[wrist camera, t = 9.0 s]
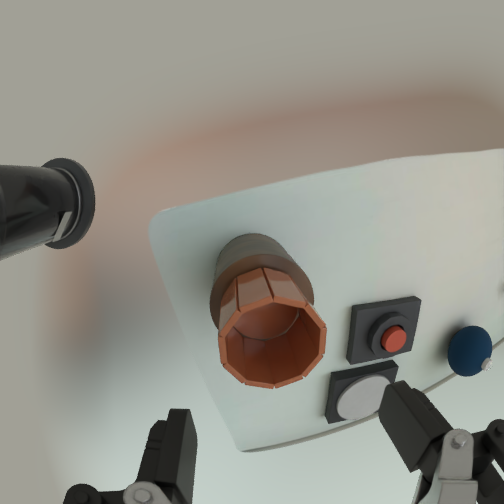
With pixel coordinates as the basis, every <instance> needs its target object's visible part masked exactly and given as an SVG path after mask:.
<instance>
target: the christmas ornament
mask: <svg viewBox="0 0 504 504" xmlns="http://www.w3.org/2000/svg"><path fill="white" fill-rule="evenodd" d="M491 353H492V341H491V338H490V336H489V334H488V333H487V332H486V331H485V330H484V329H483V328H481V327H479V326H468V327H465V328H463V329H461V330H460V331H458V332H457V333H456V334H455V336H454V337H453V338H452V340H451V342H450V344H449V348H448V362H449V365H450V367H451V369H452V370H453V371H454V372H455V373H456V374H458V375H460V376H473V375H475V374H477V373H479V372H480V371H482V370H484V371H487V370H488V369H489V368H490V366H491V365H492V360H491V359H490V357H491Z"/></svg>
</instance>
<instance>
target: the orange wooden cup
mask: <svg viewBox="0 0 504 504" xmlns="http://www.w3.org/2000/svg"><path fill="white" fill-rule="evenodd" d="M298 307H299V316H298V318H297V319H296V320H295V318H296V316H297V313H298ZM294 320H295V322H294ZM293 322H294V323H293ZM292 323H293V324H292ZM291 325H292V326H291ZM233 326H234V327H235V328H236V329H237V330H238V331H239V332H240V333H242V334H243V335H245V336H247V337H250V338H246V337H243V336H242V335H241V334H240V333H239V332H238V331H237V330H236V329H235V328H234V327H233ZM290 326H291V327H290ZM289 327H290V328H289ZM288 328H289V330H288V331H287V332H286V333H285V334H283V335H280V334H282V333H283V332H285V331H286V330H287V329H288ZM326 332H327V328H326V324H325V323H324V321H323V320H322V318H321V317H320V315H319V314H318V313H317V311H316V310H315V308H314V307H313V305H312V304H311V302H310V301H309V299H308V298H307V296H306V295H305V294H304V292H303V291H302V290H301V288H300V287H299V286H298V285H297V283H296V282H295V281H294V279H293V278H292V277H291V276H290V275H288V274H287V273H285V272H281V271H276V270H272V269H268V268H263V270H262V269H261V268H258V269H256V270H253V271H250V272H248V273H245V274H242V275H240V276H237V279H236V278H235V279H234V280H233V282H232V283H231V285H230V286H229V288H228V289H227V291H226V292H225V294H224V295H223V297H222V300H221V308H220V319H219V331H218V343H219V352H220V360H221V364H223V367H224V368H225V369H226V370H227V371H228V372H230V373H231V374H232V375H233V376H234V377H235V378H236V379H238V380H239V381H240V382H241V383H244V382H245V385H249V386H256V387H262V388H269V389H273V387H274V386H275V388H279V387H282V386H285V385H288V384H290V383H293V382H296V381H299V380H301V379H303V377H302V376H304V377H306V376H307V375H308V374H309V373H310V372H311V370H312V369H313V368H314V367H315V366H316V365H317V363H318V362H319V361H320V360H321V359H322V358H323V355H322V354H325V344H326ZM278 335H280V336H278ZM275 336H277V337H275ZM273 337H275V338H273ZM251 338H255V339H251ZM268 338H272V339H269V340H266V341H262V340H256V339H268Z"/></svg>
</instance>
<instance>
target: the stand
mask: <svg viewBox="0 0 504 504" xmlns="http://www.w3.org/2000/svg"><path fill="white" fill-rule="evenodd" d="M258 268H261V269H262V270H263V268H268V269H272V270H276V271H281V272H285V273H287V274H288V275H290V276H291V277H292V278H293V279H294V281H295V282H296V283H297V285H298V286H299V287H300V288H301V290H302V291H303V292H304V294H305V295H306V296H307V298H308V299H309V301H310V302H311V304H312V305H314V294H313V289H312V286H311V283H310V281H309V279H308V277H307V275H306V274H305V273H304V271H303V270H302V269H301V268H300V267H299V266H298V264H297V263H296V262H295V261H294V260H293V259H292V258H291V256H290V255H289V254H288V253H287V252H286V251H285V250H284V248H283V247H282V246H281V245H280V244H279V243H278V242H277V241H275V240H274V239H272V238H271V237H268V236H266V235H262V234H245V235H242V236H239V237H237V238H235V239H233V240H232V241H230V242H229V243H228V244H227V245H226V246H225V247H224V249H223V250H222V252H221V253H220V255H219V258H218V261H217V266H216V271H215V275H214V280H213V285H212V290H211V295H210V312H211V316H212V319H213V322H214V324H215V326H216V327H217V329H218V330H219V319H220V308H221V300H222V297H223V295H224V294H225V292H226V291H227V289H228V288H229V286H230V285H231V283H232V282H233V280H234V279H235V278H236V279H237V276H240V275H242V274H245V273H248V272H250V271H253V270H256V269H258ZM298 316H299V307H298V313H297V316H296V318H295V320H296V319H297V318H298ZM295 320H294V322H295ZM294 322H293V323H294ZM293 323H292V324H293ZM291 326H292V325H291ZM291 326H290V327H291ZM233 327H234V326H233ZM290 327H289V328H290ZM234 328H235V327H234ZM289 328H288V329H287V330H286V331H285V332H283V333H282V334H280V335H283V334H285V333H286V332H287V331H288V330H289ZM235 329H236V328H235ZM236 330H237V329H236ZM237 331H238V330H237ZM238 332H239V331H238ZM239 333H240V332H239ZM240 334H241V335H242V336H243V337H246V338H250V337H247V336H245V335H243V334H242V333H240ZM280 335H278V336H280ZM275 337H277V336H275ZM275 337H273V338H275ZM251 339H255V338H251ZM269 339H272V338H268V339H256V340H262V341H266V340H269Z"/></svg>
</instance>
